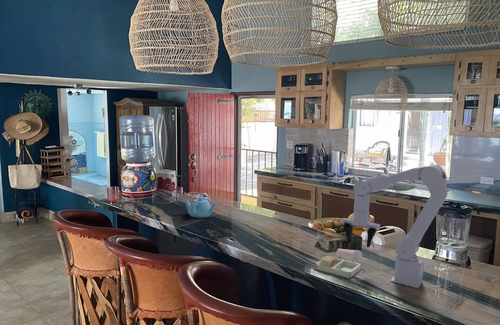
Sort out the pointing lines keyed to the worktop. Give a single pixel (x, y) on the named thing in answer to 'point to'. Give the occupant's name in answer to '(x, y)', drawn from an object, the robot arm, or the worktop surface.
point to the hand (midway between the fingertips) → (358, 244)
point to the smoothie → (350, 255)
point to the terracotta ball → (334, 260)
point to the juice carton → (339, 241)
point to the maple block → (327, 261)
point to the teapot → (200, 208)
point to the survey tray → (340, 268)
